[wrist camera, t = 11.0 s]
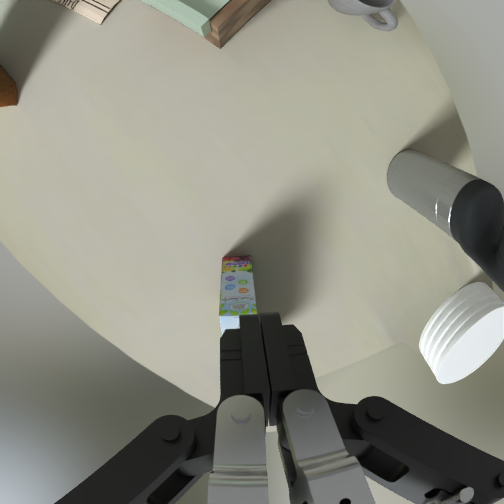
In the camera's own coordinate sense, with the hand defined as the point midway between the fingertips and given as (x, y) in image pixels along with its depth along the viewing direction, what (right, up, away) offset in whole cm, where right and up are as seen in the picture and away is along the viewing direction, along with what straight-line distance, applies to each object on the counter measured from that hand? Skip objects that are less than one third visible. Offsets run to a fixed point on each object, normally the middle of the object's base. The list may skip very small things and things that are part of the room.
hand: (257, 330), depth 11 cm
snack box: (-3, -7, +44) cm, 44 cm away
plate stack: (+59, -17, +55) cm, 82 cm away
